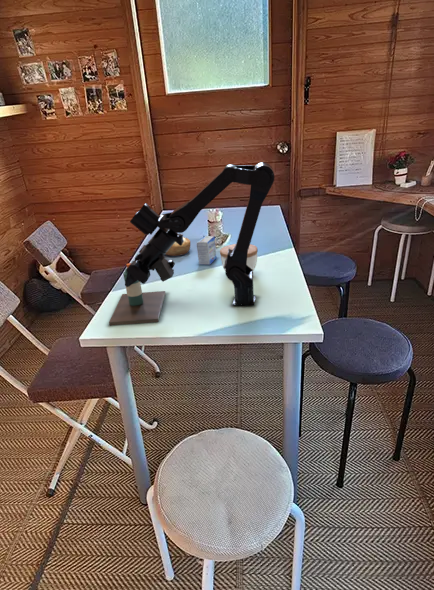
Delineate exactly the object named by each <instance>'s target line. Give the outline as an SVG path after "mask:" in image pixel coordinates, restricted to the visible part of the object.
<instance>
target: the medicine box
mask: <svg viewBox="0 0 434 590" xmlns="http://www.w3.org/2000/svg"><path fill="white" fill-rule="evenodd" d="M196 250H197V258H198V265H200V266H201V265H202V266H210V265H211V264H212V263H213V262H214V261H215V260H216V259H217V249H216V238H215V235H205V236H203V237H202V238H201V239H200V240H198V241H197V242H196Z"/></svg>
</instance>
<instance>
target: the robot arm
mask: <svg viewBox="0 0 434 590" xmlns="http://www.w3.org/2000/svg"><path fill="white" fill-rule="evenodd" d="M274 182H275V172H274V169H273V167H272V165H270V163H268V162H259V163H257V164H255V165H252V164H245V165H244V164H242V165H240V164H239V165H237V164H230V163H229V164H226V165H225V166H224V168H223V169H222V170H221V171H220V173H218V174H217V175H216V176H215V177H214V178H213V179H212V180H211V181H210V182H209V183H208V184H206V185H205V186H204V188H201V190H200V191H199V192H198V193H197V194H196V195H194V197H193V198H190V199H189V200H187V201H186V202H184V203H182V204H181V205H179V206H177V207H176V208H174V209H173V210H172V211H170V212H166V213H162V214H161V215H159V214H158V212H156V211H155V210H153V208H152V207H150V205H149V204H148V203H144V204H143V205H142V206H141V208H140V209H139V210H138V211H137V212H136V213H135V214H134V215H133V216H132V217H131V219H130V221H129V223H130V224H131V225H132V226H134V228H136V229H138V230H139V231H140V232H141V233H142V234H143V235H145V236H146V235H147V236H150V235H152V234H153V233H154V232H155V231H156V230H157V228H158V230H157V231H156V232H155V233H154V234H153V236H152V237H151V238H150V239H149V240H148V242H147V243H146V244H143V246H142V247H141V248H140V249H139V251H138V253H137V254H136V256H135V257H134V260H132V261H131V262H130V263H131V264H130V265H129V267H128V268H127V267H126V268H127V269H126V268H125V269H126V271H127V272H128V273H127V277H126V281H125V280H124V286H125V288H126V287H129V286H130V285H132V284H133V283H134V282H136V281H137V280H138V281H140V284H141V285H142V284H143V285H144V284H146V283H147V282H148V280H149V278H150V277H151V271H152V272H153V271H155V272H156V274H157V275H158V276H159V279H160V281H161V282H162V283H163V282H166V281H167V280H169V279H172V278H173V276H174V275H175V272H174V271H175V269H173V268H174V267H175V265H176V263H175V261H174V260H173V259H167V258H166V257H165V256H167V255H166V252H167V251H168V250H169V249H170V248H171V246H172V245H173V244H174V243H175V242H177V243H178V244H179V245H180V246H181V245H182V244H183V242H184V240H183V237H184V234H183V233H184V232H187V230H188V229H189V227H190V226H191V225H192V224H193V222H194V220H195V219H196V218H197V216H198V215H199V213H200V212H201V211H202V210H203V209H205V207H207V206H208V205H209V204H210V203H211V202H212V201H213V200H214V199H215V198H216V197H217V196H219V195H220V194H221V193H222V192H223V191H224V190H226V189H227V187H228V186H230V185H231V184H232V183H235V184H242V185H248V186H250V187H249V198H248V200H247V204H246V208H245V210H244V211H245V212H244V214H243V218H242V223H241V226H240V229H239V233H238V236H237V240H236V243H235V244H236V246H235V247H234V249H233V250H231V249H228V254H227V258H226V260H225V264H224V268H223V270H224V269H226V271H225V270H224V271H225V272H224V273H225V276H226V278H227V279H228V280H229V281H231V282H232V285H233V293H234V296H233V297H234V298H233V301H232V304H231V305H232V306H233V307H234V306H236V307H237V306H238V307H243V306H246V307H249V306H251V307H253V306H255V304H256V299H257V295H256V294H254V293H255V291H254V270H252V269H251V268H250V267H249V266H247V265H246V264H247V255H248V249H249V246H250V244H251V242H252V239H253V235H254V232H255V229H256V226H257V221H258V219H259V215H260V213H261V209H262V205H263V203H264V201H265V199H266V198H267V196H268V194H269V192H270V190H271V189H272V187H273V185H274Z"/></svg>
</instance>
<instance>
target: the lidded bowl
mask: <svg viewBox="0 0 434 590" xmlns="http://www.w3.org/2000/svg"><path fill="white" fill-rule="evenodd" d="M235 246H236V243H233V244H232V243H231V244H228V245H224V246H223V247H221V248H220V250H219V254H220V262H221V265H222V268H223V270H224V271H226V269H224V264H225V260H226V258H227V254H228V249H231V250H233V249H234V247H235ZM257 264H258V247H257V246H256V245H254V244H251V243H250V246H249V249H248V255H247V264H246V265H247V266H249V267H250V268H251V269H252V270H253V271H255V269H256V266H257Z"/></svg>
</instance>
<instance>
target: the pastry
mask: <svg viewBox="0 0 434 590" xmlns="http://www.w3.org/2000/svg"><path fill="white" fill-rule="evenodd" d="M183 240H184V242H183V244H182V245H181V246H180V245H179V244H178V243H177V242H175V243H174V244H173V245H172V246H171V248H170V249H169V250H168V251H167V252H166V255H165V256H170V257H179V256H184V255H186V254H188V253H189V251H190V249H191V240H190V239H189V238H188V237H185V236H183Z"/></svg>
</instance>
